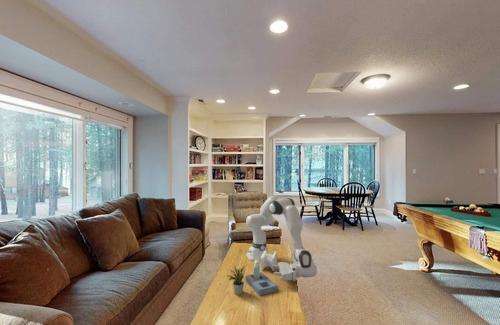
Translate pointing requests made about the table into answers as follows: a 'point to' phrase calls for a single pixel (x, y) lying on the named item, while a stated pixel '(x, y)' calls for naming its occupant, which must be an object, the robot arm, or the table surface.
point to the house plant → (237, 280)
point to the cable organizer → (268, 260)
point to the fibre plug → (256, 270)
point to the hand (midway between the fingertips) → (273, 270)
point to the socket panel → (261, 284)
